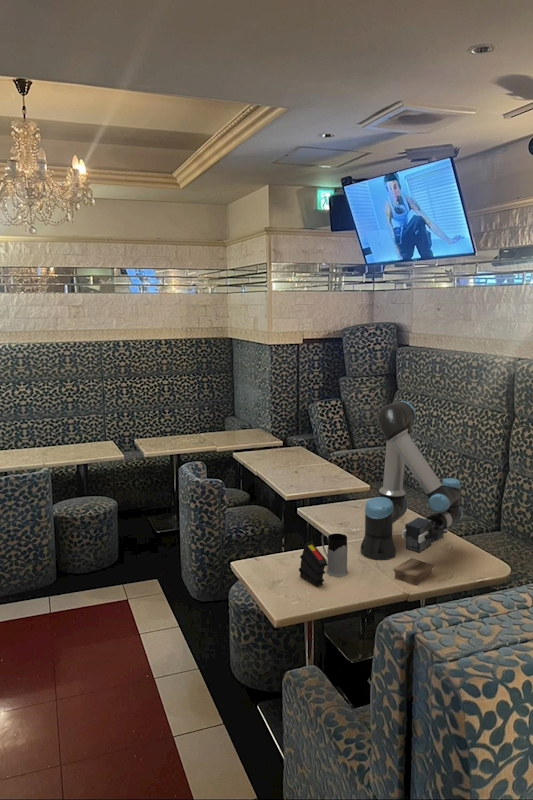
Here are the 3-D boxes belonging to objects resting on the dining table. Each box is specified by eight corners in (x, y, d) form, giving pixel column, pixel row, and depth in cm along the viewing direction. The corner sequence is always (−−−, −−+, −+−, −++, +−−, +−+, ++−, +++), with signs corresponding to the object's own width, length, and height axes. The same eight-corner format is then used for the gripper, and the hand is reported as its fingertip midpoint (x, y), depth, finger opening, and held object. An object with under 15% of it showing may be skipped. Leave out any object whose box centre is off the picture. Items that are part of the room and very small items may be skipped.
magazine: (301, 568, 249) (311, 541, 241) (320, 592, 240) (331, 565, 232) (294, 570, 247) (304, 543, 239) (312, 595, 238) (323, 567, 230)
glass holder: (335, 579, 242) (336, 542, 240) (313, 566, 254) (313, 531, 252) (352, 573, 247) (353, 538, 245) (330, 561, 259) (330, 527, 256)
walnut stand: (393, 578, 243) (393, 568, 242) (411, 567, 253) (411, 557, 252) (415, 586, 236) (416, 576, 235) (433, 574, 246) (433, 564, 246)
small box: (416, 541, 249) (417, 516, 247) (431, 545, 245) (433, 520, 243) (404, 549, 241) (405, 523, 239) (419, 553, 237) (420, 527, 235)
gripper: (460, 536, 249) (433, 553, 232) (417, 524, 261) (388, 539, 245) (461, 518, 247) (434, 534, 230) (418, 507, 260) (389, 521, 243)
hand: (411, 537), depth 238 cm, fingers closed on small box, 6 cm apart
